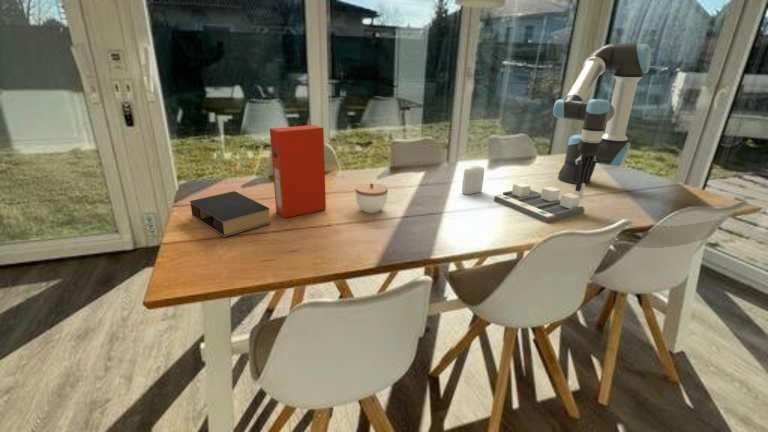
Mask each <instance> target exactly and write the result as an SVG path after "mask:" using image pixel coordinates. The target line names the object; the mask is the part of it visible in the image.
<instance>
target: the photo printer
mask: <svg viewBox="0 0 768 432" xmlns="http://www.w3.org/2000/svg"><path fill="white" fill-rule="evenodd" d="M484 175H485V168H484V167H483V166H481V165H471V166H468V167H467V168H465V169H464V170H463V179H462V185H461V186H462V187H461V192H462V194H463V195H471V194H476V193H481V192H482V191H483V184H484Z"/></svg>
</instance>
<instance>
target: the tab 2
mask: <svg viewBox="0 0 768 432" xmlns="http://www.w3.org/2000/svg"><path fill="white" fill-rule="evenodd" d="M574 194H575V193H571V192H568V193H563V194H561V196H560V200H561V201H560V205H561V206H563V207H566V208H569V209H572V208H576V207H580V206H579V205H580V200H581V199H580V196H577V195H574Z"/></svg>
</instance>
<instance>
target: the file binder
mask: <svg viewBox="0 0 768 432" xmlns="http://www.w3.org/2000/svg"><path fill="white" fill-rule="evenodd" d="M269 135H270V148H271V149H270V150H271V160H272V161H271V163H272V173H273V186H274V187H273V188H274V198H275V212H276V213H277V214H278V215H279V216H280V217H282V218H283V219H287V218H291V217H296V216H301V215H305V214H309V213H314V212H320V211H324V210H326V209H327V207H326V206H327V205H326V204H327V203H326V200H327V199H326V173H325V172H326V170H325V169H326V167H325V165H326V163H325V138H324V137H325V136H324V135H325V134H324V127H323V126H319V125H315V124H311V125H309V124H308V125H297V126H287V127H284V126H283V127H275V128H269Z"/></svg>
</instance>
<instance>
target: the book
mask: <svg viewBox="0 0 768 432" xmlns="http://www.w3.org/2000/svg"><path fill="white" fill-rule="evenodd" d="M189 203H190V208H191V217H193V218H194V219H196V220H197V221H199V222H201V223H202V224H204V225H205V226H207V227H209V228H210V229H211V230H212V231H215V232H216V233H217V234H219V235H220V236H222V237H224V238H225V237H229V236H233V235H236V234H239V233H242V232H243V233H244V232H245V231H248V230H250V231H251V230H252V229H256V228H260V227H263V226H265V225H269V224H271V221H270V220H271V219H270V207H268V206H266V205H264V204H262V203H260V202H258V201H255V200H253V199H252V198H249V197H248V196H246V195H243V194H241V193H239V192H237V191H236V190H234V191H228V192H223V193H220V194H219V193H218V194H216V195H215V194H214V195H211V196H207V197H206V196H205V197H201V198H197V199H194V200H189Z"/></svg>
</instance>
